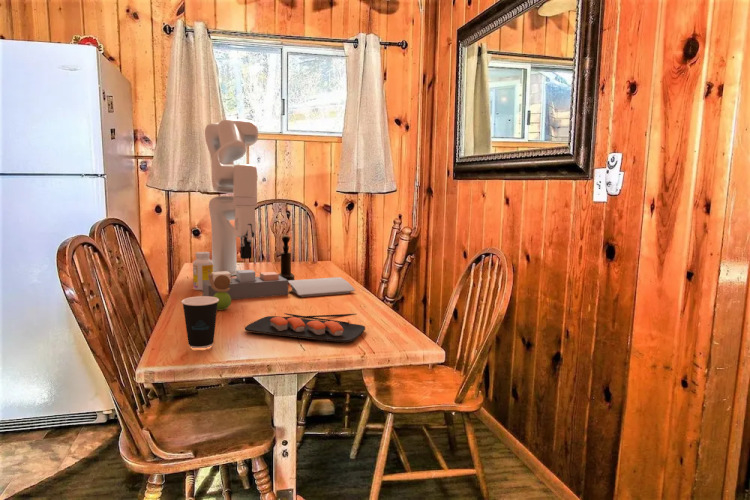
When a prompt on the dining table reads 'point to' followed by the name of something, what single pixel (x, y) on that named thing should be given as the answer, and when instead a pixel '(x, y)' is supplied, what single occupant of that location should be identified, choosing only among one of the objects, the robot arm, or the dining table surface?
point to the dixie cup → (200, 320)
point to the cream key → (216, 274)
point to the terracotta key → (269, 276)
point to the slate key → (245, 276)
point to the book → (320, 286)
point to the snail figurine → (221, 290)
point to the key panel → (251, 288)
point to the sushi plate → (308, 327)
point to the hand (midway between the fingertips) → (246, 258)
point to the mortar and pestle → (286, 260)
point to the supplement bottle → (201, 269)
